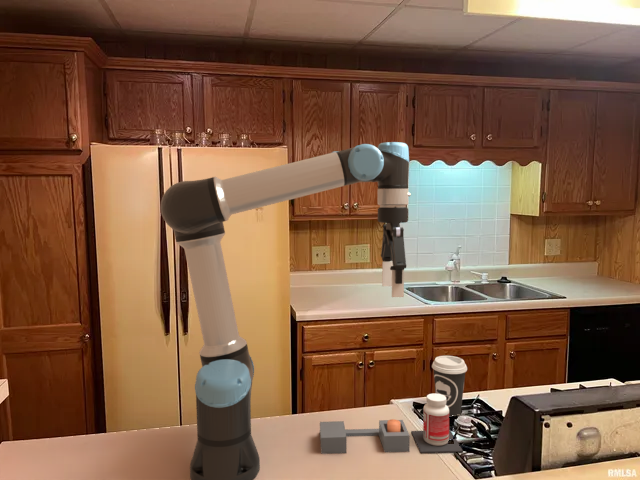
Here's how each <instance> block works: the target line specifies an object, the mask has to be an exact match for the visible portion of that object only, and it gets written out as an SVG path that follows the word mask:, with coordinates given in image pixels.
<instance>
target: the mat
mask: <svg viewBox="0 0 640 480" xmlns="http://www.w3.org/2000/svg"><path fill="white" fill-rule="evenodd" d="M410 431H411V435H412V437H413V439H414V441H415V443H416V446H417V448H418V450H419V453H420V454H423V455H424V454H428V455H429V454H456V453H455V452H458V453H457V454H461V453H462V454H463V453H464V451H463V450H464V449H463V448H462V446H461V445H460V444H459V442H458V440H457V439H456V438H455V439H453V436H454V434H453V432H452V431H451V430H450V429H449V439H453V440H454V444H448V443H447V444H445V445H442V446H435V445H431V444H429V443H427V442H426V441H425V440H424V438H423V430H410ZM459 445H460V446H459Z"/></svg>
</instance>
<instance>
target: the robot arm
mask: <svg viewBox="0 0 640 480" xmlns="http://www.w3.org/2000/svg"><path fill="white" fill-rule="evenodd" d="M409 155H410V150H409V146H408V144H407V143H406V142H400V141H399V142H398V141H391V142H390V141H389V142H388V141H387V142H381V143H379V144H378V146H377V147H376V146H375V145H373V144H369V143H362V144H359V145H356V146H355V147H350V148H346V149H342V150H338V151H331V152H330V153H326V154H321V155H317V156H314V157H311V158H305V159H302V160H298V161H294V162H290V163H285V164H281V165H277V166H274V167H270V168H265V169H262V170H261V169H260V170H258V171H257V170H256V171H253V172H249V173H245V174H241V175H237V176H233V177H229V178H225V179H221V178H219V177H218V176H212V177H209V178H208V177H207V178H204V179H203V178H202V179H197V180H183V181H180V182H176V183H174V184H172V185H171V186H169V188H167V189H166V190H165V192H164V194H163V195H162V198H161V201H160V213H161V216H162V218H163V221H165V223H166V225H167V226H168V227H170V228H171V229H172V230H173V234H174V239H175V243H176V244H177V245H178V246H180V247H181V248H183V249H184V253H185V260H186V263H187V269H188V273H189V277H190V283H191V288H192V293H193V297H194V298H193V299H194V302H195V308H196V310H197V316H198V321H199V325H200V330H201V335H202V340H203V346H202V347H201V349H200V350H199V353H198V354H199V358H200V362H201V368H200V369H199V370H198V371H197V373H196V377H195V382H194V383H195V384H194V391H195V398H196V399H195V402H196V408H195V409H196V430H197V434H196V435H197V437H196V438H197V440H196V443H195V446H194V447H195V448H194V450H193V454H192V458H191V460H190V465H189V473H190V474H189V477H190V480H254V479H255V478H256V477H257V476H258V474H259V472H260V468H261V467H260V466H261V465H260V459H261V458H260V454H259V452H258V449H257V446H256V444H255V441H254V439H253V436H252V428H251V427H252V417H251V416H252V414H251V413H252V409H251V408H252V407H251V406H252V405H251V403H252V402H251V400H252V387H253V380H254V376H255V365H254V361H253V359H252V357H251V355H250V352H249V348H248V342H247V340H246V339H244V338H243V337H242V336H240V335H239V334H240V333H239V329H238V324H237V319H236V313H235V310H234V304H233V303H234V302H233V298H232V294H231V288H230V283H229V279H228V273H227V269H226V263H225V258H224V253H223V248H222V243H221V241H222V239H223V238H224V236H225V235H226V231H225V227H224V222H228V221H229V219H230V217H231V216H232V215H236V214H240V213H244V212H248V211H252V210H255V209H258V208H262V207H266V206H270V205H275V204H278V203H282V202H286V201H290V200H294V199H299V198H303V197H305V196H309V195H313V194H317V193H318V194H319V193H322V192H324V191H329V190H333V189H337V188H340V187H345V186H350V185H353V184H358V183H377V205H378V206H379V207H378V208H377V222H379V223H381V224H383V225H382V242H381V252H380V253H381V254H380V258H381V261H382V262H381V263H382V265H381V268H382V275H381V276H382V283H381V284H382V286H381V287H391V297H392V298H404V295H405V290H404V289H405V280H404V279H405V269H407V260H406V259H407V258H406V250H405V239H404V235H405V234H404V230H405V229H404V227H403V226H402V227H401V225H400V224H401V223H403V224H404V223H408V221H409V208H408V206H407V205H409V197H411V193H410V192H409V180H410V179H409V177H410V174H409V173H410V172H409V170H410V156H409Z"/></svg>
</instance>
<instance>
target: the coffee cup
mask: <svg viewBox="0 0 640 480" xmlns="http://www.w3.org/2000/svg"><path fill="white" fill-rule="evenodd" d="M434 358H435V359H434V361H433V362H432V364H431V368H432V369H433V378H434V391H435V393H436V394H442V395H444V396H446V401H447V402H446V405H447V406H448V408H449V416H452V415H457V414H460V413H461V414H462V405H463V395H464V388H465V378H466V372H467V371H468V366H467V364H466V363H465V360H464V359H463V358H461V357H458V356H453V355H439V356H436V357H434ZM461 414H460V415H461Z"/></svg>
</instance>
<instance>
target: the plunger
mask: <svg viewBox="0 0 640 480" xmlns="http://www.w3.org/2000/svg"><path fill="white" fill-rule="evenodd" d="M399 420H400V419H394V418H392V419H388V421H387V432H400V429H401V422H400V421H399Z"/></svg>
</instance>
